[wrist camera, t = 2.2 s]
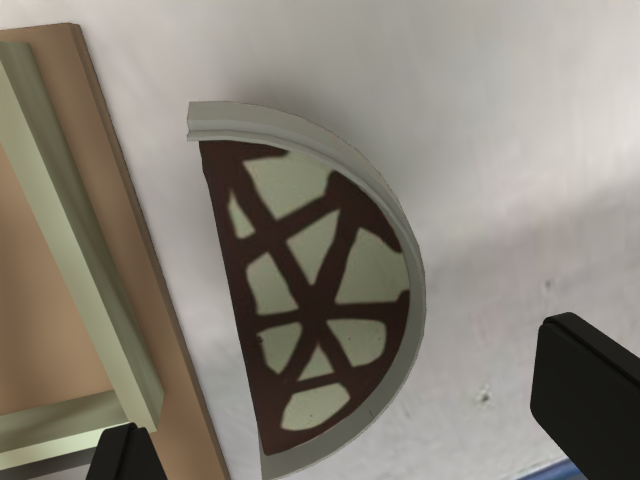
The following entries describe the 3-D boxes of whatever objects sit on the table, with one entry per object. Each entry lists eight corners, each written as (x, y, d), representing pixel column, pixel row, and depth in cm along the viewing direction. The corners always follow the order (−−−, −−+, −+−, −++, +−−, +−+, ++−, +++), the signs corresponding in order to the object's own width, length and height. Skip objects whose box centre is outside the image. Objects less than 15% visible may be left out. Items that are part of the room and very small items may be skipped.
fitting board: (79, 25, 15) (38, 15, 12) (239, 505, 28) (241, 564, 25) (-357, 76, 14) (-545, 81, 10) (26, 565, 26) (-3, 638, 23)
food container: (357, 301, 23) (437, 451, 14) (250, 321, 22) (264, 495, 13) (345, 70, 18) (458, 80, 9) (205, 84, 17) (180, 111, 8)
